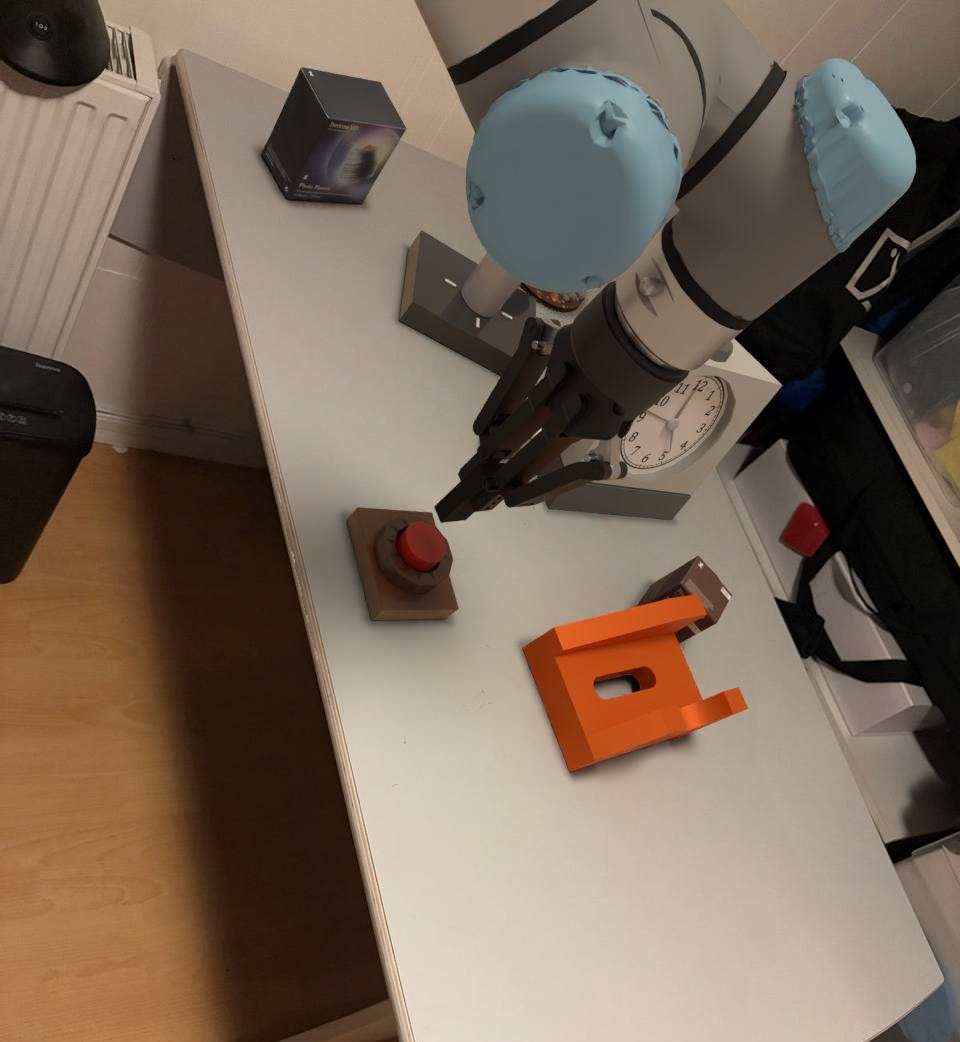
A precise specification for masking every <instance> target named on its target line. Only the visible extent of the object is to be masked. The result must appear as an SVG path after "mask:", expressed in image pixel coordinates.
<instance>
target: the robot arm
mask: <svg viewBox="0 0 960 1042" xmlns="http://www.w3.org/2000/svg"><path fill="white" fill-rule="evenodd" d="M413 1H414V4H415V5H416V8H417V9H418V12H419V14H420V16H421V18H422V20H423V22H424V24H425V27H426V29H427V31H428V33H429V35H430V37H431V39H432V41H433V43H434V45H435V47H436V48H435V49H436V50H437V52H438V54H439V56H440V58H441V60H442V62H443V65H444V66H445V69H446V71H447V73H448V75H449V77H450V80H451V81H452V84H453V86H454V88H455V91H456V93H457V96H458V99H459V101H460V103H461V105H462V108H463V110H464V112H465V114H466V117H467V118H468V121H469V123H470V125H471V127H472V129H473V131H474V135H473V138H472V144H471V146H470V149H469V153H468V157H467V160H466V166H465V193H466V194H465V195H466V203H467V212H468V216H469V220H470V223H471V224H472V228H473V230H474V233H475V235H476V237H477V239H478V240H479V242H480V244H481V245H482V247H483V249H484V250H485V251H486V254H487V253H488V254H489V255H490V256H491V258H492V259H493V260H494V261H495V262H496V263H497V264H498V265H499V266H500V267H501V268H502V269H504V270H505V271H506V272H507V273H508V274H510V275H511V276H513V277H514V278H516V279H517V280H519V281H521V282H523V283H525V284H527V285H529V286H531V287H534V288H537V289H540V290H544V291H548V292H555V293H576V292H582V291H585V292H586V291H589V290H592V289H598V288H599V289H601V288H602V287H603V286H604V287H603V288H602V289H601V291H599V292H598V293H597V294H596V295H595V296H594V297H593V299H592V300H590V301H589V303H587V305H586V306H584V308H583V309H582V310H581V311H579V312H578V314H577V315H576V316H575V318H574V319H573V321H572V323H568V324H565V325H563V326H562V324H561V322H560V321H559V319H555V318H547V317H538V316H536V317H529V318H528V319H527V320H526V322H525V325H524V328H523V332H522V336H521V339H520V343H519V346H518V348H517V350H516V352H515V353H514V355H513V357H512V359H511V360H510V362H509V364H508V365H507V367H506V369H505V370H504V372H503V374H502V375H500V377H499V379H497V380H498V381H497V382H496V384H495V385H494V387H493V389H492V390H491V392H490V394H489V395H488V397H487V399H486V400H485V402H484V403H483V406H481V408H480V411H479V412H478V414H477V416H476V418H475V419H474V421H473V424H472V431H473V434H474V435H475V436H478V441H479V445H478V447H477V449H476V453H475V454H474V455H473V456H472V457H471V458H470V459H468V460H467V462H465V464H463V466H461V468H460V469H459V471H458V473H457V476H458V478H459V482H458V483H457V484H456V485H455V486H454V487H452V489H451V490H449V492H448V493H447V494H446V495H444V496H443V497H442V498H441V499H440V500H439V501H438V502H437V503H436V504H435V505H434V506H433V507H434V510H435V513H436V516H437V517H438V520H439V522H440V524H442V523H452V522H463V521H466V520H468V519H469V518H471V516H472V515H473V514H474V513H479V512H489V511H493V510H494V509H496V507H498V505H500V504H501V503H502V502H503V501H504V504H505V506H506V507H507V508H509V509H511V508H520V507H529V506H536V505H539V504H541V503H544V502H546V500H548V499H551V498H553V497H556V496H558V495H560V494H563V493H565V492H568V491H570V490H573V489H575V488H578V487H580V486H582V485H585V484H587V483H590V482H592V481H600V480H613V479H623V478H624V477H626V475H627V472H628V467H627V465H626V463H625V462H623V461H619V460H620V439H621V438H623V437H625V436H626V435H627V433H628V432H629V430H630V428H631V426H632V424H633V422H634V420H635V419H636V418H637V417H638V416H639V415H640V414H642V413H643V412H645V411H646V410H648V409H649V408H650V407H652V406H653V405H654V404H655V403H657V402H658V401H659V400H660V399H661V398H663V397H664V396H665V395H666V394H667V393H669V392H670V391H671V390H672V389H674V388H675V387H676V386H677V385H678V384H680V383H681V382H682V381H683V380H684V379H685V378H686V377H687V376H688V374H689V372H690V370H696V369H698V368H699V367H701V366H702V365H703V364H704V363H706V362H707V361H708V360H709V359H710V358H711V357H713V356H714V355H715V354H716V353H717V352H718V351H720V350H721V349H722V348H723V347H724V346H725V345H727V344H728V343H729V342H730V341H731V340H732V339H735V338H737V336H738V335H740V334H741V333H742V332H743V331H744V330H745V329H747V327H749V326H750V325H751V324H752V323H754V322H755V321H756V320H757V319H758V318H759V317H760V316H762V315H763V314H764V313H766V311H768V310H769V309H770V308H772V307H773V306H774V305H775V304H776V303H778V302H779V301H780V300H782V299H783V298H784V297H785V296H787V295H789V293H790V292H792V291H793V290H794V289H795V288H797V287H798V286H799V285H801V284H802V283H803V282H805V281H806V280H807V279H808V278H809V277H810V276H812V275H813V274H814V273H816V272H817V271H818V270H819V269H821V268H822V267H823V266H825V265H826V264H827V263H828V262H830V261H831V260H832V259H833V258H835V257H836V256H838V254H840V253H844V252H845V251H846V250H847V249H849V248H850V247H851V245H852V243H853V242H854V241H855V240H857V239H858V238H859V237H860V236H861V235H862V234H863V233H865V231H866V230H868V229H869V228H870V227H871V226H872V225H873V224H874V223H875V222H876V221H878V219H880V218H882V216H883V215H884V214H885V213H886V212H887V211H888V210H889V209H890V208H891V207H892V206H893V205H894V204H895V203H896V202H897V201H898V200H899V199H900V198H901V197H903V195H905V193H906V192H907V191H908V190H909V188H910V187H911V185H912V183H913V180H914V178H915V175H916V170H917V161H916V160H917V156H916V155H917V154H916V150H915V147H914V144H913V142H912V139H911V136H910V135H909V133H908V131H907V129H906V127H905V125H904V123H903V121H902V119H901V118H900V117H899V115H898V114H897V112H896V111H895V109H894V108H893V106H892V105H891V104H890V102H889V100H888V99H887V98H886V97H885V96H884V94H883V93H882V91H881V90H880V89H879V88H878V87H877V86H876V84H875V83H874V82H873V81H872V80H871V79H868V78H866V76H864V74H863V73H862V72H861V70H860V69H859V68H858V66H857V65H855V64H853V63H852V62H850V61H848V60H846V59H844V58H841V57H832V58H828V59H826V60H825V61H823V62H821V63H820V64H819V65H818V66H817V67H816V68H815V69H813V71H812V72H810V73H805V74H804V75H803V76H802V77H800V79H798V80H797V79H796V78H795V77H793V75H792V74H791V73H790V71H788V70H785V69H784V70H783V68H782V67H781V66H780V64H779V63H778V62H777V61H776V60H775V59H774V58H773V57H772V56H771V55H770V54H769V52H768V51H767V50H766V49H765V48H764V46H763V45H762V44H761V42H759V41H758V39H757V38H756V37H755V36H754V35H753V33H752V32H751V31H750V29H748V27H747V26H746V25H745V24H744V23H743V21H742V20H741V19H740V18H739V17H738V16H737V15H736V13H735V12H734V11H733V10H732V8H731V7H730V6H729V5H728V4H727V2H726V1H725V0H413ZM674 206H675V207H677V208H678V211H677V213H676V214H674V216H672V217H671V218H670V219H669V220H668V221H667V222H666V220H667V218H668V217H669V216H670V213H671V211H672V209H673V208H674ZM665 222H666V223H665ZM662 226H663V227H662ZM660 227H661V229H660ZM658 229H660V230H658ZM657 231H658V232H657ZM544 372H545V373H544ZM543 374H544V376H543V378H542V379H540V378H541V377H542V375H543ZM541 428H542V430H541V431H540V432H539V433H538V434H537V435H536V436H535V437H534V438H533V439H531V440H530V441H529V442H528V443H527V444H526V445H525V446H524V447H523V448H522V449H521V450H520V451H519V452H517V453H516V454H515V455H514V456H513V454H514V453H515V452H516V451H517V450H518V449H519V448H520V447H521V446H522V445H523V444H525V443H526V442H527V441H528V440H529V439H530V438H531V437H532V436H533V435H534V434H535V433H537V432H538V431H539V430H540V429H541ZM581 439H593V440H600V443H599V445H598V447H597V448H595V449H592V450H590V451H589V453H588V454H586V455H585V456H584V461H583V462H575V463H572V464H569V465H567V466H565V467H562V468H560V469H558V470H555V471H553V472H551V473H549V474H546V475H544V476H542V477H540V478H539V477H537V478H535V477H536V476H538V473H539V472H540V471H541V470H543V469H544V468H545V467H546V466H547V465H548V464H549V463H551V462H552V461H553V460H554V459H555V458H556V457H558V456H559V455H560V454H561V453H562V452H563V451H564V450H566V449H567V448H568V447H569V446H570V445H571V444H573V443H575V442H578V441H580V440H581ZM510 456H513V457H510ZM501 460H509V461H508V462H507V463H506V464H505V463H499V462H500V461H501ZM534 478H535V479H534ZM532 479H533V480H532Z"/></svg>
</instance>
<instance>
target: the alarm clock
mask: <svg viewBox="0 0 960 1042" xmlns="http://www.w3.org/2000/svg"><path fill="white" fill-rule="evenodd" d="M782 387H783V384H782V383H780V381H779V380H777V379H776V377H775V376H774V375H772V374H771V373H770V372H769V371H768V370H767V369H766V368H765V367H764V366H763V365H762V364H761V362H759V361H758V360H757V359H756V358H755V357H754V356H753V355H752V354H751V353H750V352H748V351H747V349H745V348H744V346H743V345H741V344H740V342H738V341H737V340H736V339H735V338H734V339H732V340H731V341H730V342H729V343H728V344H727V345H725V346H724V347H723V348H722V349H721V350H720V351H718V352H717V353H716V354H715V355H714V356H713V357H711V358H710V359H709V360H708V361H707V362H706V363H704V364H703V365H702V366H701V367H699V368H698V369H696V370H690V372H689V374H688V376H687V377H686V378H685V379H684V380H683V381H682V382H681V383H680V384H678V385H677V386H676V387H675V388H674V389H672V390H671V391H670V392H669V393H667V394H666V395H665V396H664V397H663V398H661V399H660V400H659V401H658V402H657V403H655V404H654V405H653V406H652V407H650V408H649V409H648V410H646V411H645V412H643V413H642V414H640V415H639V416H638V417H637V418H636V419H635V420H634V422H633V424H632V426H631V428H630V430H629V432H628V433H627V435H626V436H625V437H623V438H621V439H620V460H619V461H623V462H625V463H626V465H627V467H628V472H627V475H626V477H624V478H623V479H613V480H600V481H592V482H590V483H587V484H585V485H582V486H580V487H578V488H575V489H573V490H570V491H568V492H565V493H563V494H560V495H558V496H556V497H553V498H551V499H548V500H546V501H545V503H546V505H547V508H548V509H552V510H561V511H562V510H563V511H572V512H583V513H594V514H603V515H604V514H605V515H613V516H614V515H616V516H625V517H637V518H647V519H657V520H667V521H668V520H670V521H672V520H673V519H674V518H675V517H676V516H677V515H678V514H679V512H680V511H681V510H682V509H683V507H684V506H685V505H686V504H687V503H688V502H689V500H690V499H691V498H692V496H693V495H694V494H695V493H696V492H697V490H698V489H699V488H700V487H701V486H702V484H704V481H706V479H707V478H708V477H709V476H710V474H711V473H712V472H713V471H714V469H715V468H717V466H718V464H720V462H721V461H722V460H723V459H724V457H725V456H726V455H727V454H728V452H729V451H730V450H731V449H732V448H733V447H734V445H735V444H736V443H737V441H739V439H740V438H741V437H742V435H743V434H744V433H745V432H746V431H747V429H748V428H749V427H750V426H751V424H752V423H753V422H754V421H755V419H756V418H757V417H758V416H759V415H760V414H761V412H762V411H763V410H764V409H765V407H766V406H767V405H768V404H769V402H770V401H771V400H772V399H773V398H774V396H775V395H776V394H778V392H779V391H780V389H781V388H782ZM599 443H600V440H593V439H581V440H580V441H578V442H575V443H573V444H571V445H570V446H569V447H568V448H567V449H566V450H564V451H563V452H562V453H561V454H560V455H559V456H558V457H556V458H555V459H554V460H553V461H552V462H551V463H549V464H548V465H547V466H546V467H545V468H544V469H543V470H541V471H540V472H539V473H538V474H537V478H540V477H542V476H544V475H546V474H549V473H551V472H553V471H555V470H558V469H560V468H562V467H565V466H567V465H569V464H572V463H575V462H583V461H584V456H585V455H586V454H588V453H589V451H590V450H592V449H595V448H597V447H598V445H599Z"/></svg>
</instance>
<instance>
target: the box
mask: <svg viewBox="0 0 960 1042" xmlns="http://www.w3.org/2000/svg"><path fill="white" fill-rule="evenodd" d="M696 594H698V595H699V598H700V600H701V602H702V604H703V607H704V609H705V611H706V614H707V615H705V616H704V617H702V618H700V619H698V620H696V621H694V622H693V623H691V624H689V625H687V626H685V627H684V628H682V629H680V630H678V631H676V632H674V633H675V636H676V638H677V640H678V643H679V644H681V643H683V642H685V641H687V640H688V639H690V638H692V637H694V636H696V635H698V634H700V633H701V632H704V631H705V630H708V629H710V628H711V627H713V626H715V625H717V624H718V622H719V620H720V618H721V617H722V615H723V613H724V611H725V609H726V608H727V606H728V604H729V602H730V601H731V599H732V596H733V593H731V592H730V590H729V589H728V588H727V587H726V586H725V585H724V583H723V582H722V581H721V579H720V577H719V576H718V575H717V573H715V572H714V570H712V569H711V568H710V567H709V565H708V564H707V563H706V562H705V561H704V560H703V558H702V557H701V556H700V555H697V556H695V557H693V558H692V559H690V560H689V561H687V562H685V563H684V564H682V565H681V566H679V567H678V568H675V569H674V570H672V571H671V572H669V573H668V574H666V575H664V576H662V577H660V578H659V579H658V580H656V581H654V582H653V583H652V584H651V586H650V587H649V588H648V589H647V591H646V593H645V594H644V596H643V597H642V599H641V601H640V602H639V603H638V605H637V606H641V605H645V604H649V603H653V602H657V601H661V600H665V599H669V598H676V597H682V596H689V595H696Z"/></svg>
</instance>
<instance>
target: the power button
mask: <svg viewBox="0 0 960 1042" xmlns="http://www.w3.org/2000/svg"><path fill="white" fill-rule="evenodd" d="M439 531H440V530H439ZM439 531H438V530H437V529H436V528H435V527H434V526H432V525H430V524H428V523H425V522H415V523H412V524H411V525H410V526H409V527H408V528H407V529H406V530H405V531H404V532H403V533H402V534H401V535H400V536H399V538H398V540H397V551H398V554H399V556H400V558H401V559H402V560H403V562H404V563H405V564H406V565H407V566H409V567H410V568H412V569H414V570H417V571H428V570H430V569H431V568H433V567H434V566H435V565H436V564H437V563H438V562H439V561H440V560H442V559H443V557H444V556H445V553H446V544H445V540H444V538H443V536H444V535H443V534H442V535H443V536H442V535H441V533H442V532H441V531H440V532H441V533H440V532H439Z"/></svg>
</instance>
